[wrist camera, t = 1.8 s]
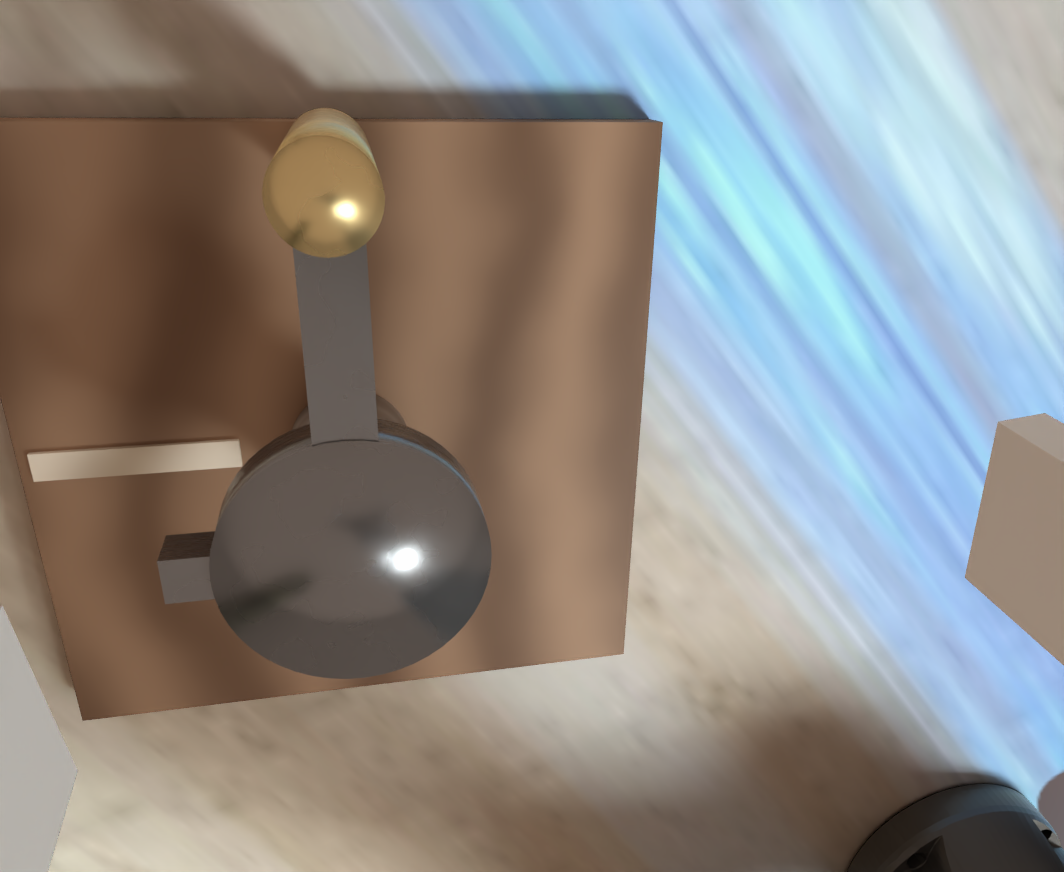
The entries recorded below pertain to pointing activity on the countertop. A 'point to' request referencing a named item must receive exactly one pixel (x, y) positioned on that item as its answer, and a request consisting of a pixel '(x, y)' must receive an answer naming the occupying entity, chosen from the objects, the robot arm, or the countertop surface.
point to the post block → (279, 376)
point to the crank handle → (337, 463)
